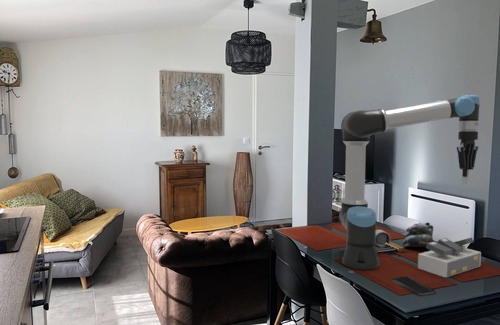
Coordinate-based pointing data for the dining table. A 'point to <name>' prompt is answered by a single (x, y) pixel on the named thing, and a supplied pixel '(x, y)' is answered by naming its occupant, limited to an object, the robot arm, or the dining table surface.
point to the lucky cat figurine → (418, 235)
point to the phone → (413, 286)
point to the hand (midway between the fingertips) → (466, 184)
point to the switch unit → (449, 262)
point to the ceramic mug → (382, 237)
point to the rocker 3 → (464, 241)
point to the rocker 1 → (439, 248)
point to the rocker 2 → (451, 245)
